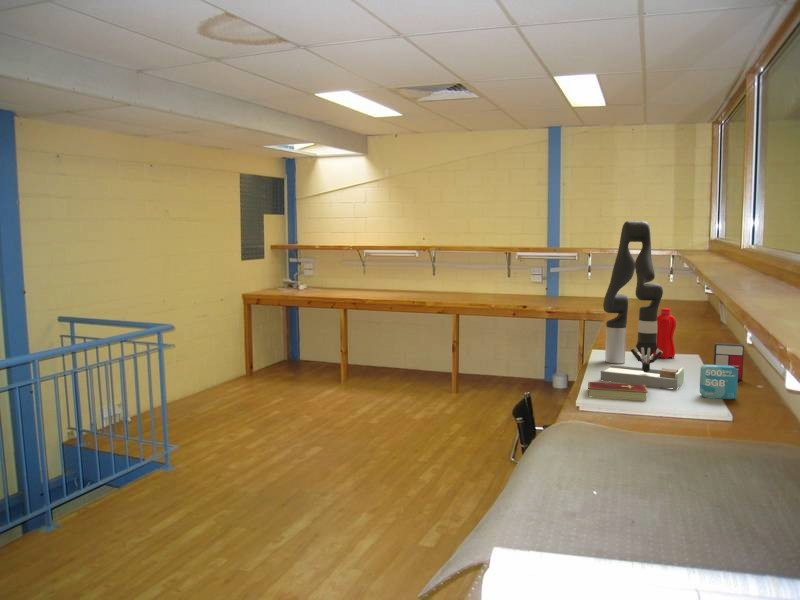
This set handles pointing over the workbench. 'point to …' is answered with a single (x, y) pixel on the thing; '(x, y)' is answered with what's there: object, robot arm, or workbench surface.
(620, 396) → the hardcover book
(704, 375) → the data package
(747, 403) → the workbench surface
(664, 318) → the water bottle
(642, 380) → the box
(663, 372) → the walnut block
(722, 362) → the grey white red block
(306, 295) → the workbench surface
